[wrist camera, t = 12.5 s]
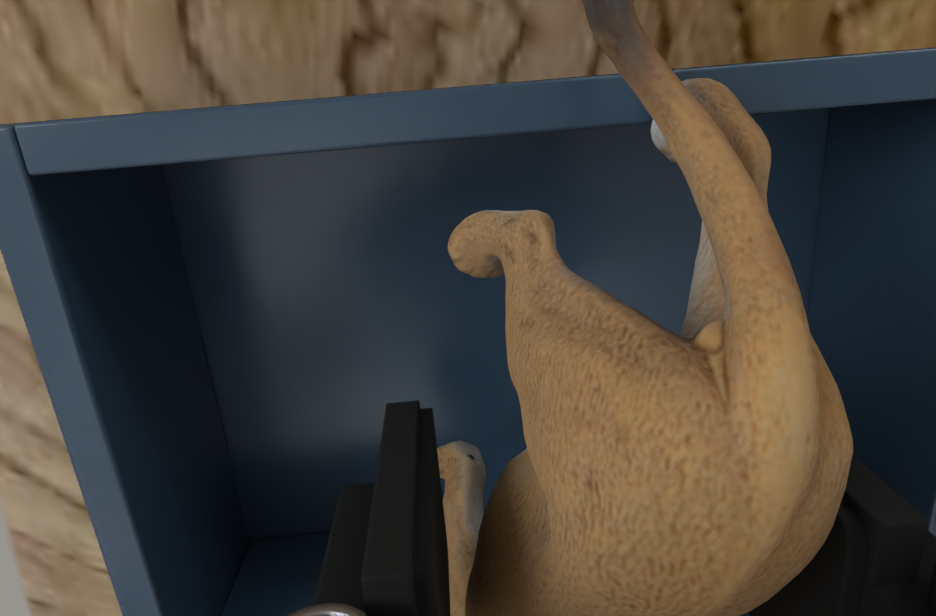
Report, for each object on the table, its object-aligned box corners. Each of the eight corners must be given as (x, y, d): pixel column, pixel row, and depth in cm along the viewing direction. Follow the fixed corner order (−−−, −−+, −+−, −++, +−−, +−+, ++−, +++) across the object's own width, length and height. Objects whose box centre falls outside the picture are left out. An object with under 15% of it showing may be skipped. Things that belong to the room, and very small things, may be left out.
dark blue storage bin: (235, 544, 19) (157, 727, 13) (131, 117, 15) (-44, 127, 9) (797, 486, 20) (941, 638, 14) (845, 57, 15) (1075, 35, 10)
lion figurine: (617, 531, 18) (760, 1010, 11) (429, 547, 17) (448, 1050, 10) (767, -71, 8) (2677, 520, 1) (372, -60, 8) (161, 767, 1)
